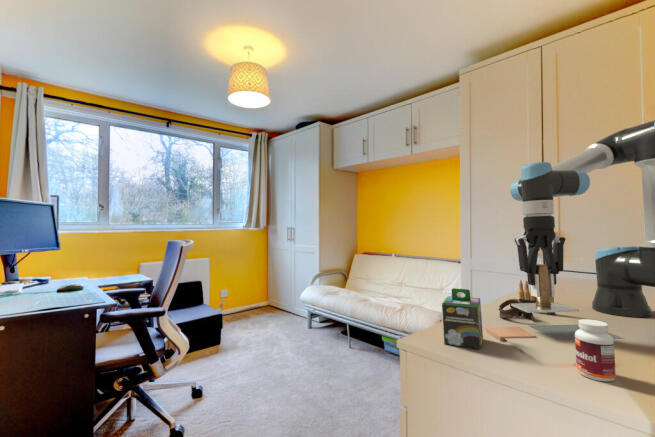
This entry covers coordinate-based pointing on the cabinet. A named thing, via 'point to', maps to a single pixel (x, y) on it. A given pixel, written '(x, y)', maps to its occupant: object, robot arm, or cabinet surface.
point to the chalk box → (462, 320)
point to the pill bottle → (595, 351)
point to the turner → (543, 296)
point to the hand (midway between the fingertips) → (542, 295)
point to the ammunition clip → (530, 297)
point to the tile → (508, 333)
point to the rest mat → (562, 331)
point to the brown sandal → (513, 310)
